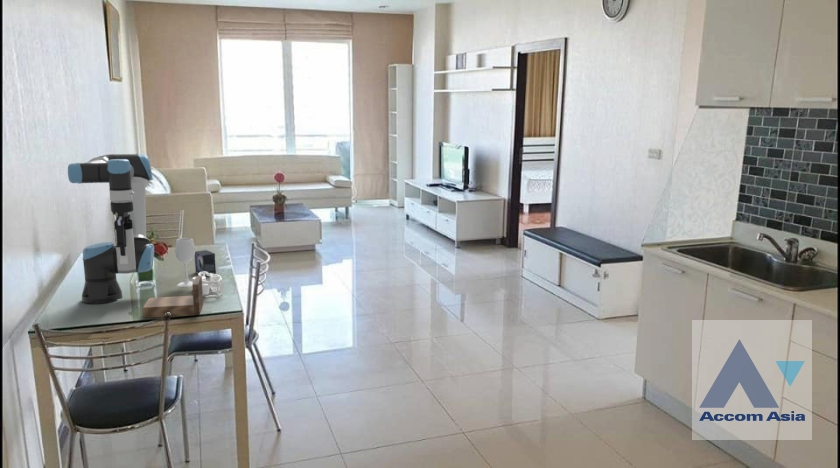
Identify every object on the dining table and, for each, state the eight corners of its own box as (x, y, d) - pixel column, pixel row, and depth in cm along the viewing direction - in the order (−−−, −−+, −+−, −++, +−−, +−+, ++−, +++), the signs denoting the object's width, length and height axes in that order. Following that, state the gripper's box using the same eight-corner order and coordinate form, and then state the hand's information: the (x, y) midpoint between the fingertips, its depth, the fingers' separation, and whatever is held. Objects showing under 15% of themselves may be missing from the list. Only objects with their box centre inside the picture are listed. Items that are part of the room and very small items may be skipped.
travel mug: (139, 269, 241) (135, 218, 237) (132, 273, 234) (128, 221, 231) (122, 269, 241) (118, 218, 237) (115, 273, 234) (110, 221, 230)
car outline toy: (192, 288, 276) (191, 272, 275) (218, 286, 281) (217, 270, 279) (196, 300, 258) (195, 283, 257) (224, 297, 263) (223, 280, 261)
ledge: (143, 317, 235) (141, 286, 233) (150, 307, 248) (148, 278, 246) (199, 314, 240) (197, 284, 238) (203, 304, 252) (201, 275, 250)
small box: (194, 272, 304) (193, 251, 302) (207, 270, 308) (206, 249, 306) (203, 276, 296) (202, 255, 294) (216, 274, 300) (215, 253, 298)
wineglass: (190, 288, 276) (187, 241, 272) (172, 286, 278) (170, 240, 274) (201, 283, 284) (198, 237, 281) (183, 281, 286) (181, 236, 282)
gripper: (126, 204, 224) (131, 267, 228) (137, 197, 242) (141, 255, 247) (104, 205, 222) (109, 268, 227) (116, 197, 240) (121, 256, 245)
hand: (126, 261), depth 237 cm, fingers closed on travel mug, 6 cm apart
